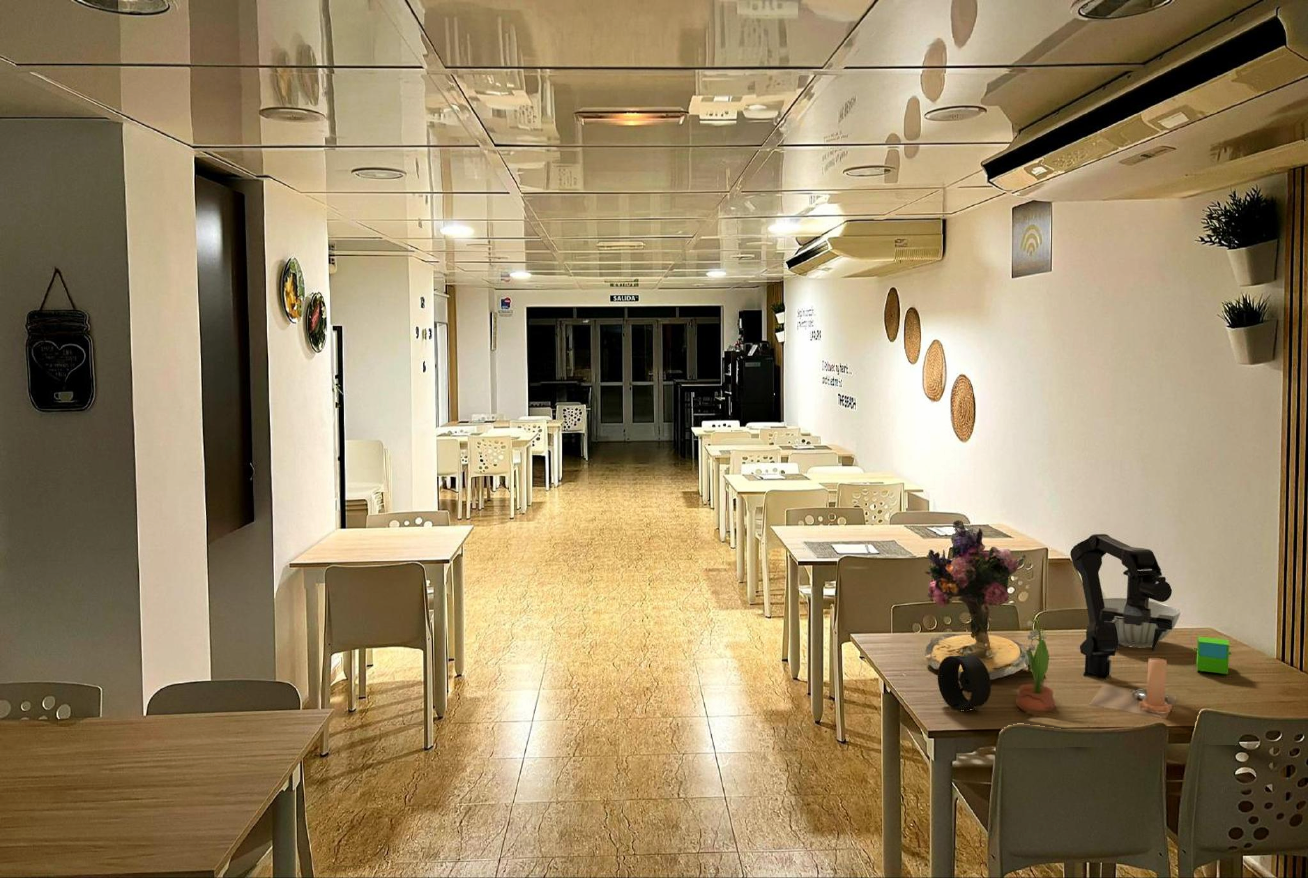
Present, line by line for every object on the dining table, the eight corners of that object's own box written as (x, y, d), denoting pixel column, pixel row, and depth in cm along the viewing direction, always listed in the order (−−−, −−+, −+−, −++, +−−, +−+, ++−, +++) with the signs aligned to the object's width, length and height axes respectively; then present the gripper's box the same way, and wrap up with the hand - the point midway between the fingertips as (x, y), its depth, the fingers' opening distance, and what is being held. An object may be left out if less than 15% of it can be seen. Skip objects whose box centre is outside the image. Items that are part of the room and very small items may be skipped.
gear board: (1088, 709, 291) (1088, 703, 291) (1103, 689, 309) (1104, 683, 309) (1165, 724, 281) (1165, 717, 281) (1176, 702, 298) (1177, 695, 298)
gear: (1129, 699, 296) (1130, 693, 295) (1135, 691, 303) (1135, 684, 303) (1164, 705, 291) (1165, 699, 291) (1169, 696, 298) (1170, 690, 298)
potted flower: (1006, 701, 297) (1010, 612, 295) (1041, 701, 298) (1045, 612, 296) (1025, 716, 285) (1029, 624, 283) (1061, 716, 286) (1065, 623, 284)
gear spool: (1141, 710, 286) (1143, 662, 285) (1137, 701, 293) (1140, 655, 292) (1172, 714, 283) (1175, 665, 282) (1168, 705, 291) (1171, 657, 290)
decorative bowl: (1143, 659, 339) (1145, 621, 338) (1072, 638, 362) (1073, 603, 361) (1195, 647, 353) (1197, 611, 352) (1123, 628, 376) (1125, 594, 375)
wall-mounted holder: (1003, 660, 286) (973, 664, 282) (1001, 713, 288) (971, 718, 284) (967, 646, 300) (938, 649, 296) (965, 697, 301) (936, 701, 297)
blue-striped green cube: (1228, 666, 333) (1230, 634, 332) (1231, 678, 321) (1233, 645, 320) (1192, 662, 337) (1193, 630, 336) (1193, 673, 325) (1195, 641, 324)
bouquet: (882, 666, 316) (902, 516, 326) (949, 683, 348) (966, 546, 358) (990, 682, 294) (1009, 521, 304) (1051, 699, 326) (1066, 553, 336)
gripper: (1097, 594, 302) (1094, 649, 303) (1170, 603, 292) (1167, 660, 293) (1104, 587, 311) (1102, 640, 312) (1176, 596, 301) (1173, 650, 302)
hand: (1135, 648), depth 305 cm, fingers open, 9 cm apart
